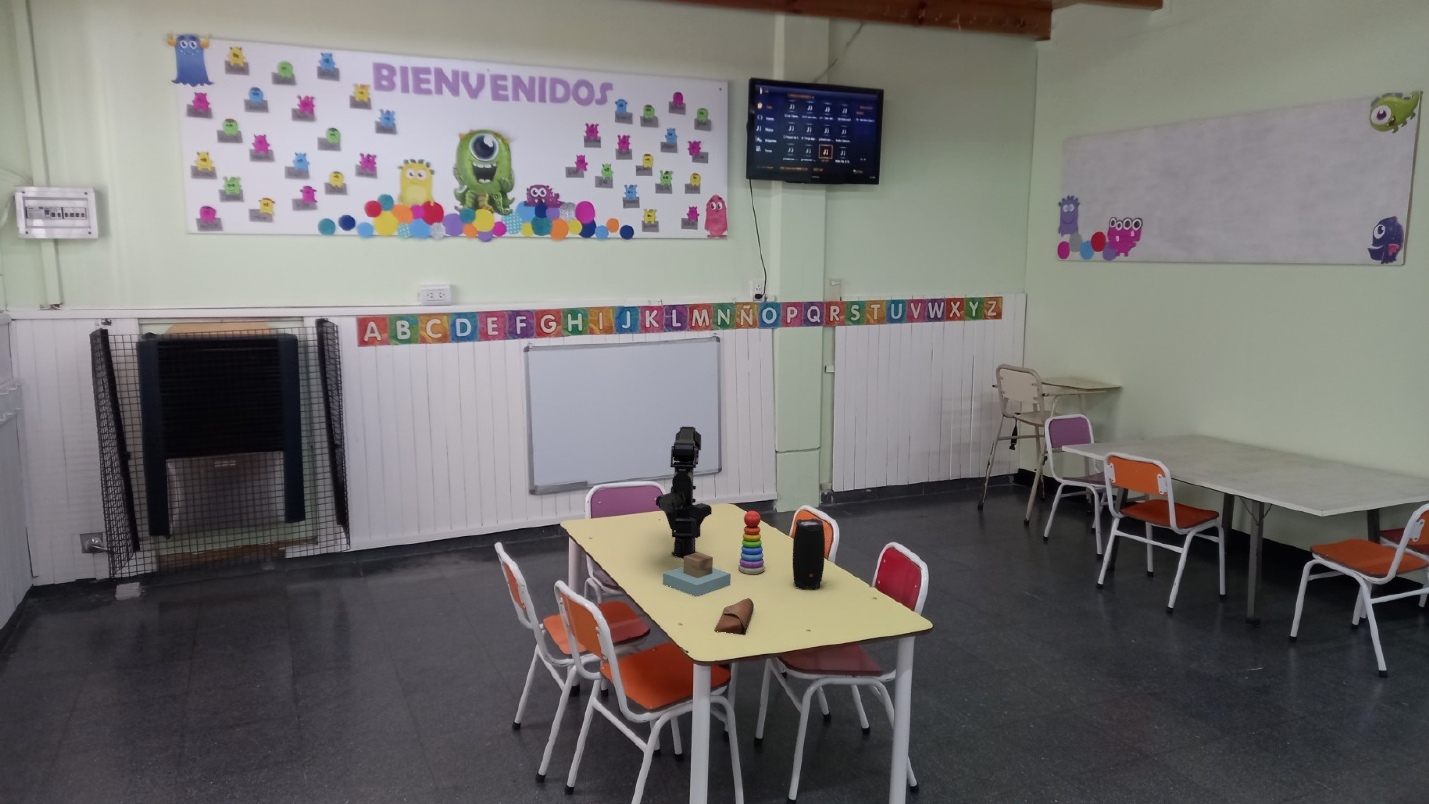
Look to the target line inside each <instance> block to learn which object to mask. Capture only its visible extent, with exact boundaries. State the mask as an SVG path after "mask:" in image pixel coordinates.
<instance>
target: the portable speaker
mask: <svg viewBox="0 0 1429 804" xmlns="http://www.w3.org/2000/svg"><path fill="white" fill-rule="evenodd" d="M795 525H796V526H795V531H794V535H793V540H792V542H793V543H792V575H793V584H794V587H795V588H797V589H800V590H804V589H805V588H813V589H814V590H817V589H820V588H821V582H822V579H823V574H824V568H825V553H826V537H825V530H824V529H825V528H824V527H825V526H824V523H823V520H821V519H818V518H810V519H801V518H799V519H797V520H796V522H795Z"/></svg>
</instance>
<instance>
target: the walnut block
mask: <svg viewBox="0 0 1429 804" xmlns="http://www.w3.org/2000/svg"><path fill="white" fill-rule="evenodd" d="M696 552H697V553H694V554H690V555H687V556H684V558H683V566H684V567H683V566H682V567H683V573H685V574H688V575H691V576H693V577H696V578H700V577H703V576H706V575H709V574H712V568H714V567H713V563H714V562H713V559H714V557H713V556H710V555H709V554H704V553H702V552H698V551H696Z"/></svg>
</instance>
